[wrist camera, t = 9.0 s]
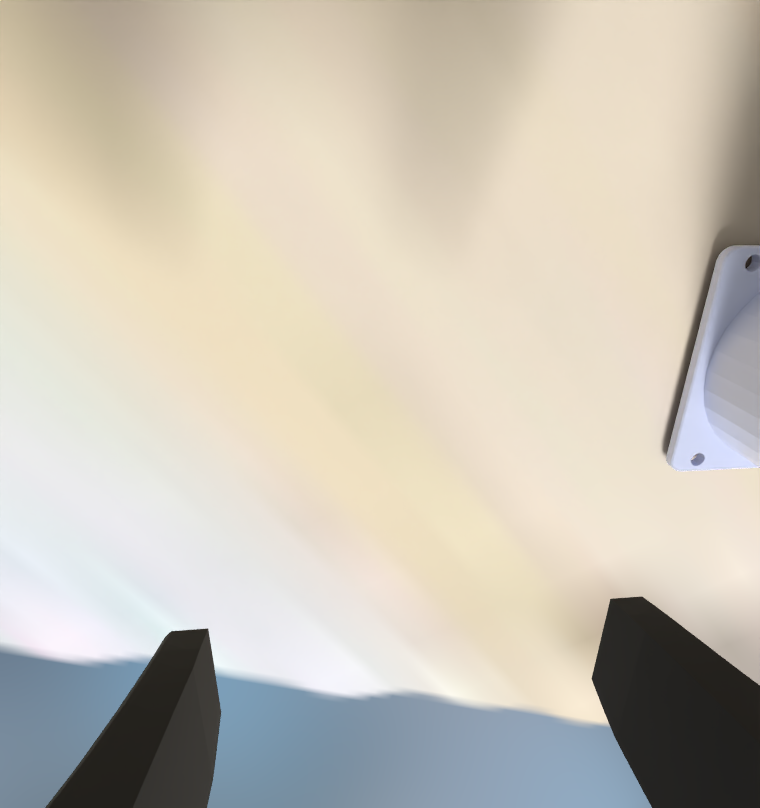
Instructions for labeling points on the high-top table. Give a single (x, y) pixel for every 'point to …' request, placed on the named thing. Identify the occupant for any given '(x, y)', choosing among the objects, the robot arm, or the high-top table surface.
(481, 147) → the high-top table surface
